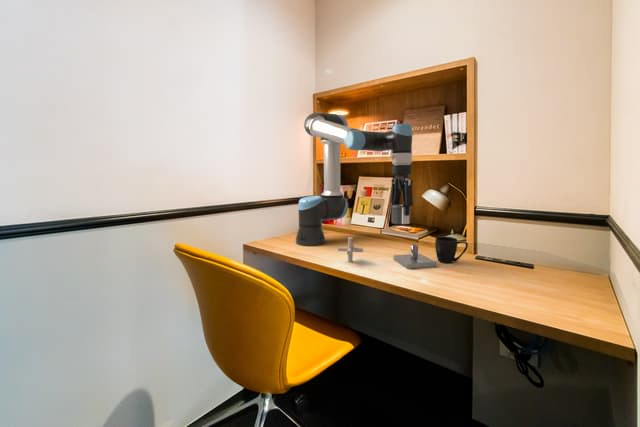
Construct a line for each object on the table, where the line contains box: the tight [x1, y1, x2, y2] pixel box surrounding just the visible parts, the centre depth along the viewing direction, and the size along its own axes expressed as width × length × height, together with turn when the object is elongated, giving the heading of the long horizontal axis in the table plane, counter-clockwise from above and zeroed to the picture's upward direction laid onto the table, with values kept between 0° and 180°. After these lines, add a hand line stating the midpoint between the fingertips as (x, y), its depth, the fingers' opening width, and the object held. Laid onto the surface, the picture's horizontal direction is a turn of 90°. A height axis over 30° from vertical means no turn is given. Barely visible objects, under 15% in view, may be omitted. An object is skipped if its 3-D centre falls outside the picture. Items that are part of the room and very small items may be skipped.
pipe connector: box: [337, 236, 364, 263], centre depth 129 cm, size 10×10×10 cm
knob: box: [390, 203, 411, 225], centre depth 127 cm, size 7×7×7 cm
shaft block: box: [392, 243, 437, 270], centre depth 126 cm, size 12×12×8 cm
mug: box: [434, 236, 469, 265], centre depth 127 cm, size 8×12×10 cm
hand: (400, 222), depth 127 cm, fingers closed on knob, 7 cm apart
